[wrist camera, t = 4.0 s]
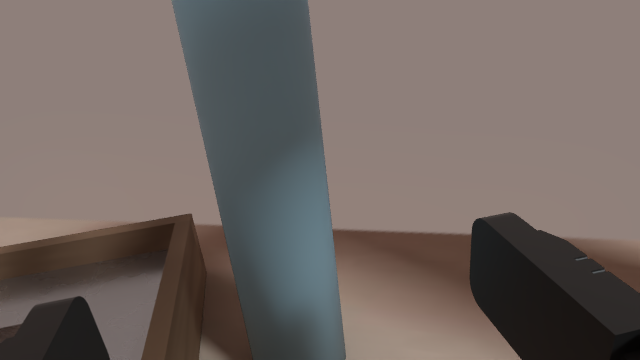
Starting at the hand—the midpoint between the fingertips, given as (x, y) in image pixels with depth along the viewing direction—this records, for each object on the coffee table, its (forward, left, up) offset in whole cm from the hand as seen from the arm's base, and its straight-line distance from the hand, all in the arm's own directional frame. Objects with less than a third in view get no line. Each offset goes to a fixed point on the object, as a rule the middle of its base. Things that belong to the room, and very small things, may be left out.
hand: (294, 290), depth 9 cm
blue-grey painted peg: (0, -7, -9) cm, 11 cm away
